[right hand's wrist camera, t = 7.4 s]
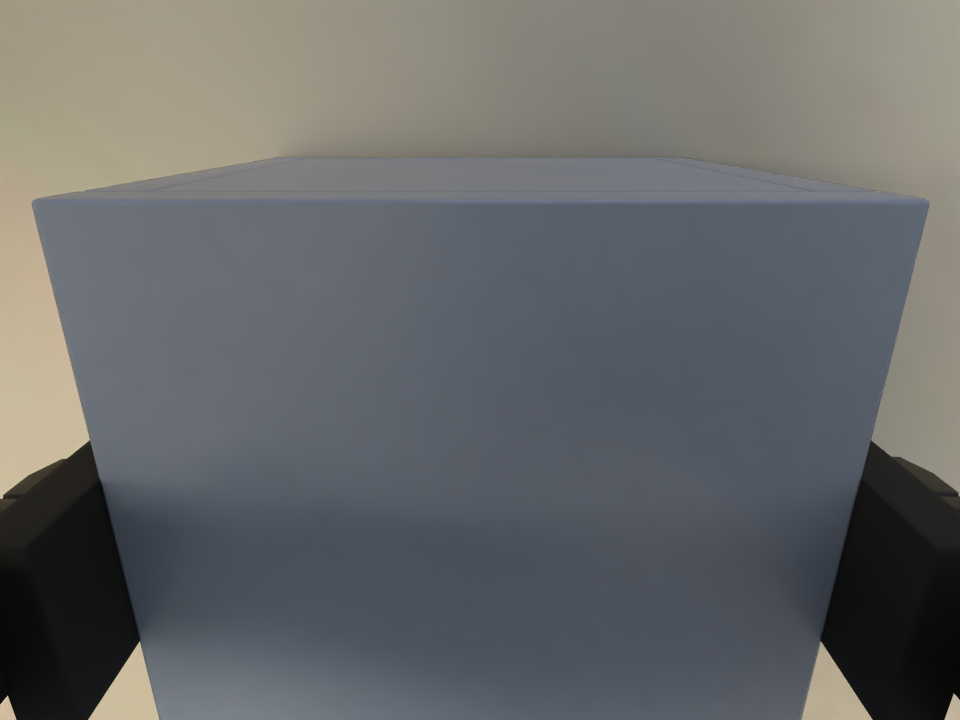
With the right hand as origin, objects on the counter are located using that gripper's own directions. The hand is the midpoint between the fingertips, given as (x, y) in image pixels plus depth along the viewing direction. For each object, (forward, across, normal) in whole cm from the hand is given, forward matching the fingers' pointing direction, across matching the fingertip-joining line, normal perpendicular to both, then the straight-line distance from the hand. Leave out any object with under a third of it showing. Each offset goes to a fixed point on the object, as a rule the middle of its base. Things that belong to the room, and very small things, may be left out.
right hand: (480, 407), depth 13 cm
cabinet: (+4, 0, -5) cm, 7 cm away
